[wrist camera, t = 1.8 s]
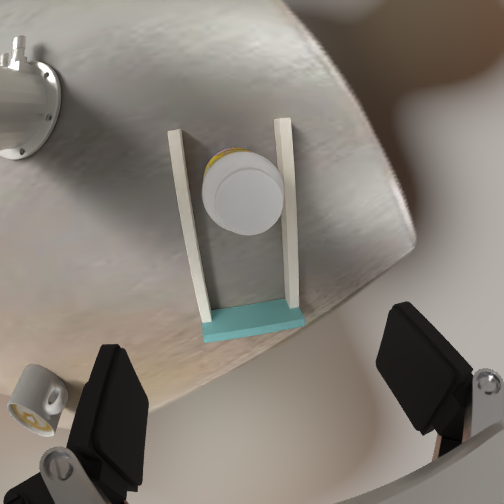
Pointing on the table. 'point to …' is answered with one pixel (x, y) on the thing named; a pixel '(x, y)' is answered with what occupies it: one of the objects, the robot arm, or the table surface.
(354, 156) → the table surface
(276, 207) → the supplement bottle
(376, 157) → the table surface
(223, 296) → the table surface
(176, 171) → the guide track
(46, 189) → the table surface
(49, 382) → the coffee mug
